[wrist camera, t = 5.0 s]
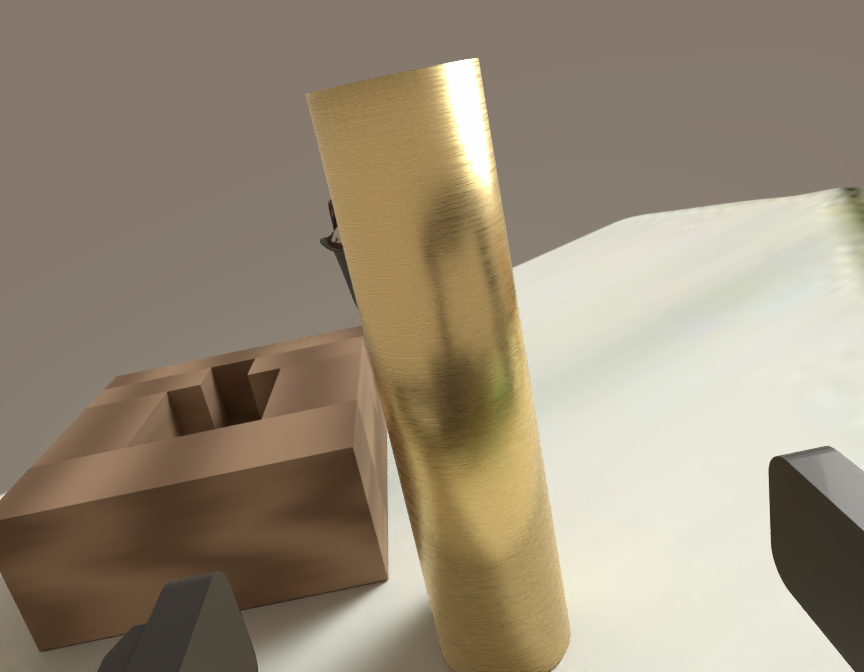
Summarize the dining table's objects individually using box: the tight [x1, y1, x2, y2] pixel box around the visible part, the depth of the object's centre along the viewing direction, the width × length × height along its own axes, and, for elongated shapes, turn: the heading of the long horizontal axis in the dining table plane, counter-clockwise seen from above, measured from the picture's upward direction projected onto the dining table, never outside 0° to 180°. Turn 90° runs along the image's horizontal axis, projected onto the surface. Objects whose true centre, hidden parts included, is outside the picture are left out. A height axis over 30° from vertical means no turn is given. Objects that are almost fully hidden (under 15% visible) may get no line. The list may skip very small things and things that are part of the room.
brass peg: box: [306, 58, 570, 672], centre depth 21 cm, size 4×6×18 cm
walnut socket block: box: [0, 326, 388, 651], centre depth 33 cm, size 14×14×6 cm
